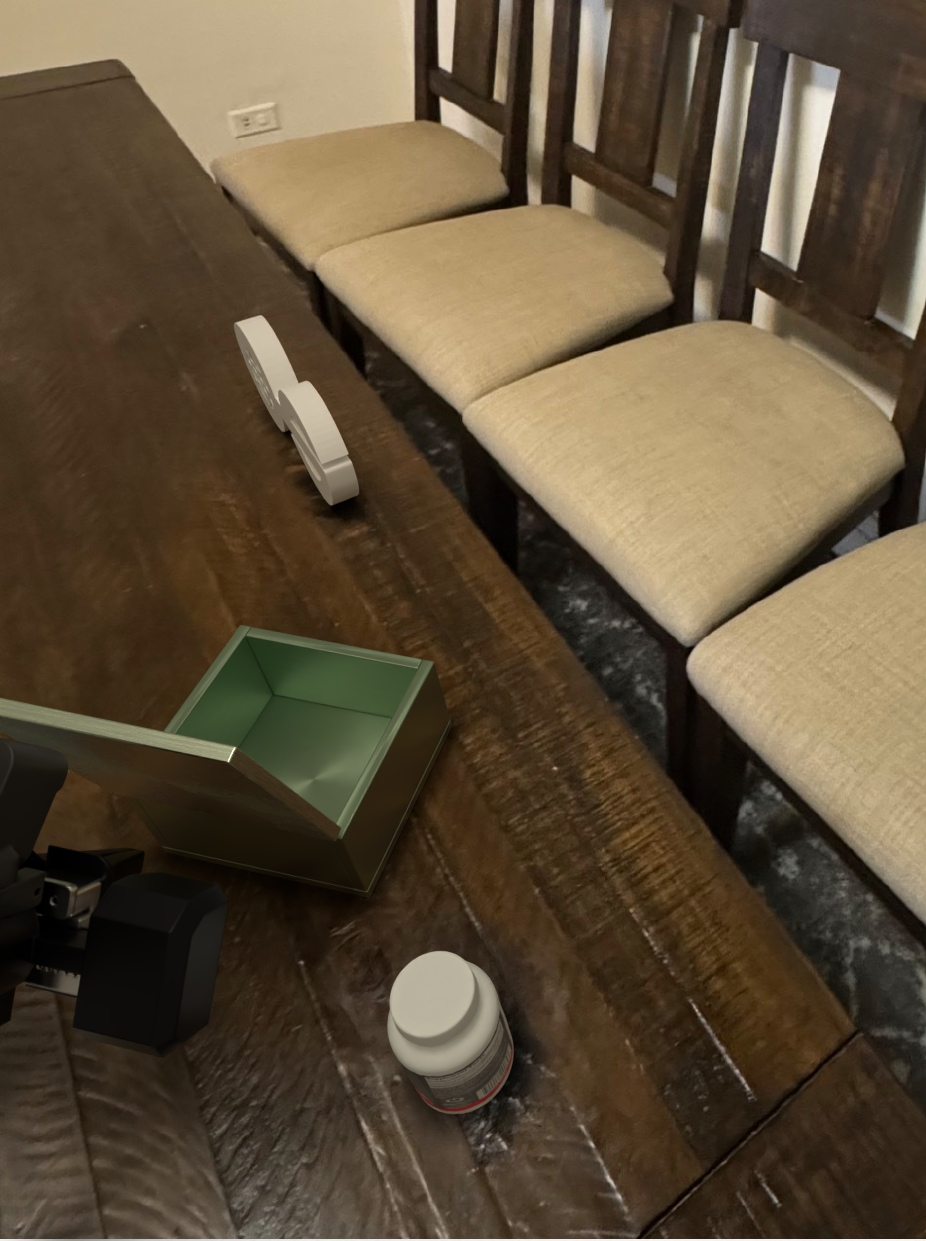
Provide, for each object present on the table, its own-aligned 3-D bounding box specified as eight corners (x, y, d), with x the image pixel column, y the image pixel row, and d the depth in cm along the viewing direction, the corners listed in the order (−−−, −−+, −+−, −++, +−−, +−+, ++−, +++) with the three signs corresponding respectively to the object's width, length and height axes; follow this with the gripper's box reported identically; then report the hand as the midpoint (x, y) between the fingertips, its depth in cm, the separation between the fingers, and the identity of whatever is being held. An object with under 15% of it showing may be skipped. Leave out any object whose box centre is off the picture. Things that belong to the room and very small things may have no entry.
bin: (272, 690, 71) (240, 624, 66) (452, 725, 69) (434, 661, 64) (165, 852, 62) (119, 791, 57) (370, 898, 60) (341, 839, 55)
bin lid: (-37, 689, 46) (-48, 705, 45) (236, 745, 44) (228, 763, 44) (119, 780, 57) (112, 793, 57) (342, 827, 55) (336, 842, 55)
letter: (257, 394, 95) (223, 302, 88) (280, 386, 96) (248, 295, 89) (343, 528, 83) (312, 434, 76) (368, 517, 84) (340, 424, 77)
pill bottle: (403, 1035, 55) (363, 962, 48) (499, 992, 57) (473, 917, 50) (426, 1136, 52) (387, 1074, 45) (527, 1088, 53) (504, 1021, 47)
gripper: (100, 823, 32) (341, 731, 48) (-388, 719, 35) (-7, 663, 50) (44, 1164, 32) (304, 961, 48) (-441, 1038, 35) (-43, 883, 50)
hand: (137, 859), depth 49 cm, fingers closed
